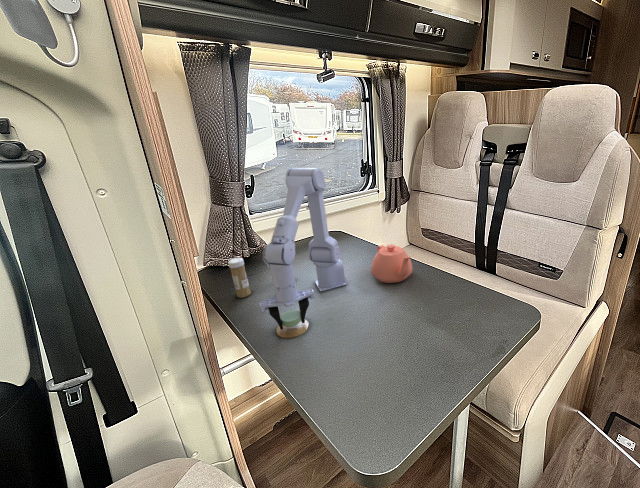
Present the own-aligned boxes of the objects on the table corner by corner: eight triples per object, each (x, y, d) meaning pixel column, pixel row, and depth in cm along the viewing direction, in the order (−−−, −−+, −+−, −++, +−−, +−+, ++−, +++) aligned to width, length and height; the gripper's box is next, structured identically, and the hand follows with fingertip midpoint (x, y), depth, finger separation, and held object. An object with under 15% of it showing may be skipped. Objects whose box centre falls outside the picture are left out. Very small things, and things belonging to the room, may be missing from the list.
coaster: (305, 315, 98) (305, 314, 98) (311, 331, 91) (311, 330, 90) (274, 324, 94) (274, 323, 94) (278, 342, 87) (278, 341, 87)
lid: (282, 329, 88) (281, 323, 87) (280, 318, 93) (279, 313, 92) (303, 323, 90) (302, 317, 90) (299, 313, 95) (299, 307, 94)
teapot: (427, 282, 115) (427, 250, 111) (391, 295, 107) (389, 262, 103) (395, 261, 132) (394, 233, 128) (361, 271, 125) (359, 242, 120)
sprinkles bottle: (252, 295, 110) (244, 260, 105) (237, 299, 108) (229, 264, 103) (249, 289, 114) (241, 256, 109) (235, 293, 111) (227, 259, 107)
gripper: (257, 297, 81) (267, 340, 86) (314, 283, 87) (320, 324, 92) (255, 285, 87) (264, 326, 92) (308, 272, 93) (314, 311, 98)
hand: (292, 324), depth 92 cm, fingers closed on lid, 5 cm apart
